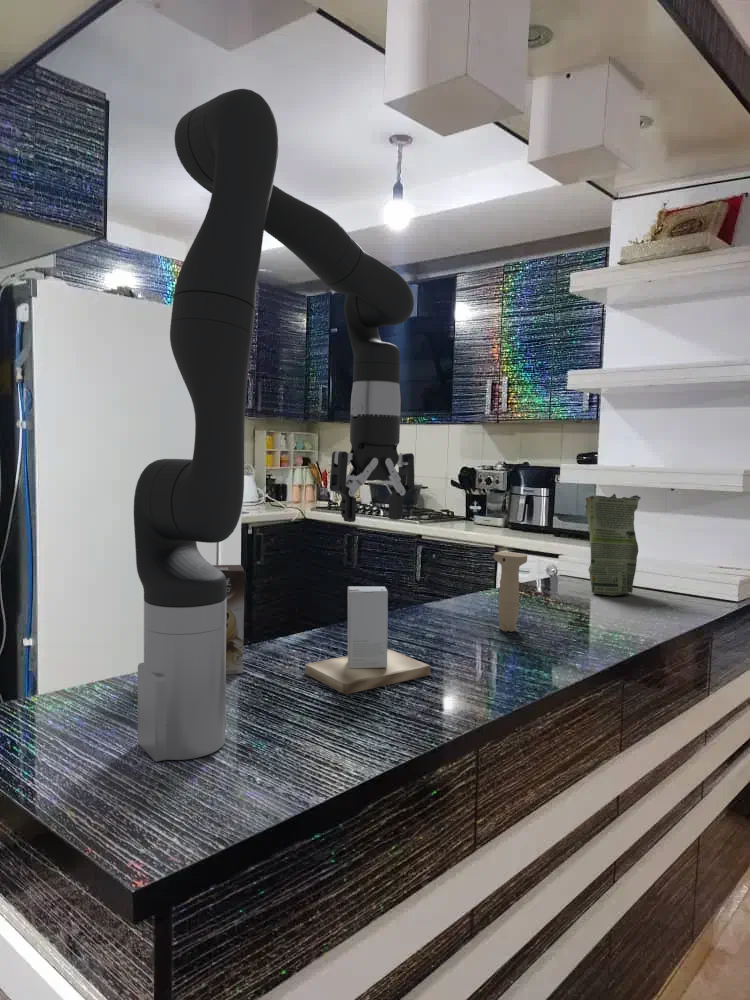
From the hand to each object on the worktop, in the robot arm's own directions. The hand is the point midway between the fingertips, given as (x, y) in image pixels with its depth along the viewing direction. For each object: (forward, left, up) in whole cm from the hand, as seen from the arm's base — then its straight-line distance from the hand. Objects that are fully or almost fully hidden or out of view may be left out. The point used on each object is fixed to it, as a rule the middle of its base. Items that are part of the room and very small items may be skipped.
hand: (372, 520), depth 108 cm
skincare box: (0, 0, -23) cm, 23 cm away
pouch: (+89, +19, -24) cm, 94 cm away
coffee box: (-19, +15, -24) cm, 34 cm away
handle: (+39, +7, -24) cm, 46 cm away
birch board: (0, 0, -24) cm, 24 cm away
